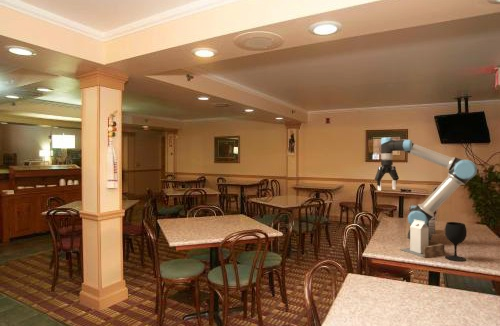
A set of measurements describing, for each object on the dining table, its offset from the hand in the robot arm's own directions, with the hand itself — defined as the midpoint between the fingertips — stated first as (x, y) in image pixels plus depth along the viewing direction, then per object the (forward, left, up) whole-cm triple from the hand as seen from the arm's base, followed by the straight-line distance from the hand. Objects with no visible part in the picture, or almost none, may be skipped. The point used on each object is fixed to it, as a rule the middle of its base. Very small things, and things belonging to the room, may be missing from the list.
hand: (387, 190), depth 228 cm
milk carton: (+6, +31, -35) cm, 47 cm away
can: (-42, -2, -35) cm, 55 cm away
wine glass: (-1, +49, -35) cm, 60 cm away
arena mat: (+5, +31, -35) cm, 47 cm away
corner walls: (+5, +31, -35) cm, 47 cm away
